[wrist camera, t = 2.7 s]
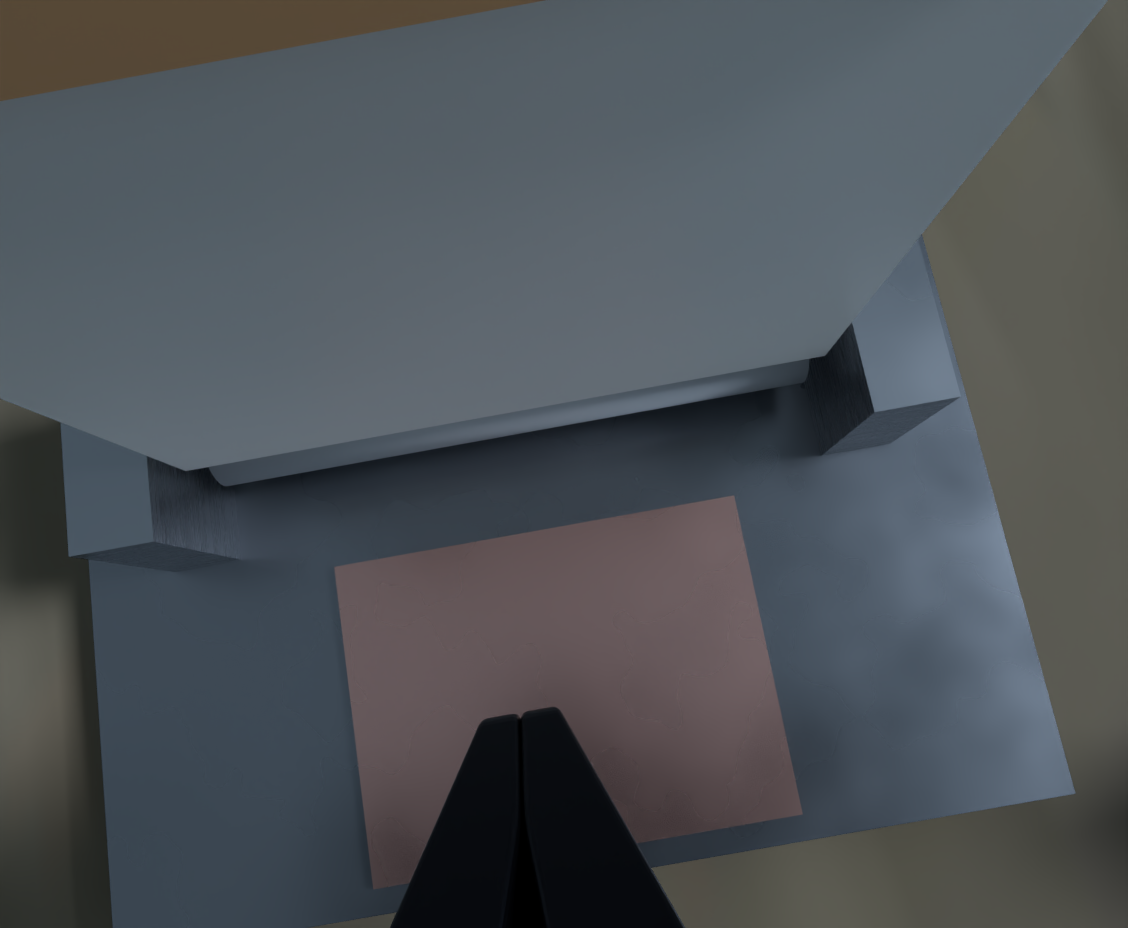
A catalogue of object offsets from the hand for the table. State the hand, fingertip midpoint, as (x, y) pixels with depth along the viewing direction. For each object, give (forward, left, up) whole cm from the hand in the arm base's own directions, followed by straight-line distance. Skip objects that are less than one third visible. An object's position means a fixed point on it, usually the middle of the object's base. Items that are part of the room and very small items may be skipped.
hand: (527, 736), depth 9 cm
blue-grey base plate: (+5, +2, -9) cm, 10 cm away
